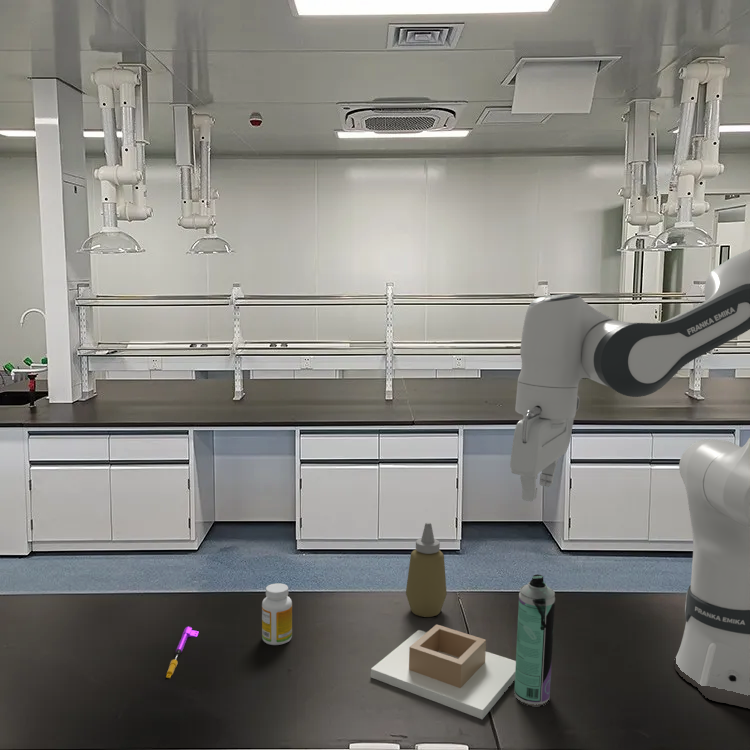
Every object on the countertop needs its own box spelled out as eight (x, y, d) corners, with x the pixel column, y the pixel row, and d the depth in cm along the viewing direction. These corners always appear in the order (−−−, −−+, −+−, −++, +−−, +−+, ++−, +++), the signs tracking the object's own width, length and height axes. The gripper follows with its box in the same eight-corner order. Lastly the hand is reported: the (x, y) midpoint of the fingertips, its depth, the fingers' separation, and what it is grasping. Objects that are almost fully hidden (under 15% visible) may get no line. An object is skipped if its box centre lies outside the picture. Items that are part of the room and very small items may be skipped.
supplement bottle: (294, 632, 132) (295, 582, 131) (288, 646, 127) (288, 595, 126) (266, 630, 133) (266, 580, 131) (258, 644, 128) (258, 593, 126)
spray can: (556, 702, 112) (563, 580, 109) (526, 709, 110) (533, 586, 107) (536, 683, 117) (542, 567, 114) (507, 690, 115) (513, 571, 112)
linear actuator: (184, 630, 132) (163, 679, 116) (185, 624, 132) (165, 673, 116) (198, 633, 133) (180, 683, 117) (200, 628, 132) (181, 676, 117)
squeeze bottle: (399, 605, 144) (401, 519, 142) (435, 599, 147) (438, 515, 144) (415, 623, 136) (417, 532, 134) (453, 617, 139) (456, 528, 137)
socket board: (521, 671, 120) (523, 640, 120) (482, 719, 107) (483, 685, 106) (418, 637, 131) (419, 609, 130) (370, 677, 118) (371, 645, 117)
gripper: (548, 415, 96) (539, 514, 98) (582, 397, 114) (573, 481, 116) (503, 408, 99) (495, 505, 101) (543, 392, 117) (535, 474, 119)
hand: (537, 492), depth 109 cm, fingers open, 8 cm apart
